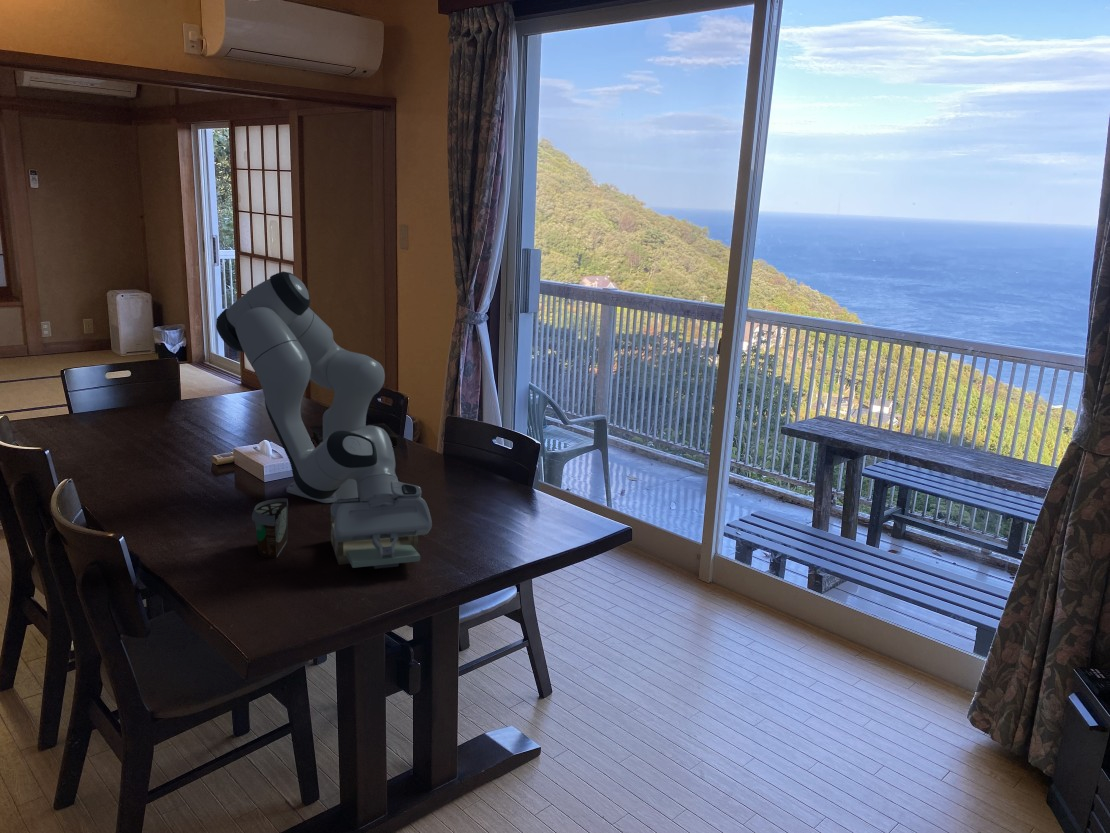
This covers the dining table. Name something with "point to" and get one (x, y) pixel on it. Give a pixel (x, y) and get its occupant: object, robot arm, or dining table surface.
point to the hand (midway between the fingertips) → (387, 556)
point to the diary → (319, 429)
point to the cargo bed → (365, 544)
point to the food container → (271, 526)
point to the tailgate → (372, 558)
